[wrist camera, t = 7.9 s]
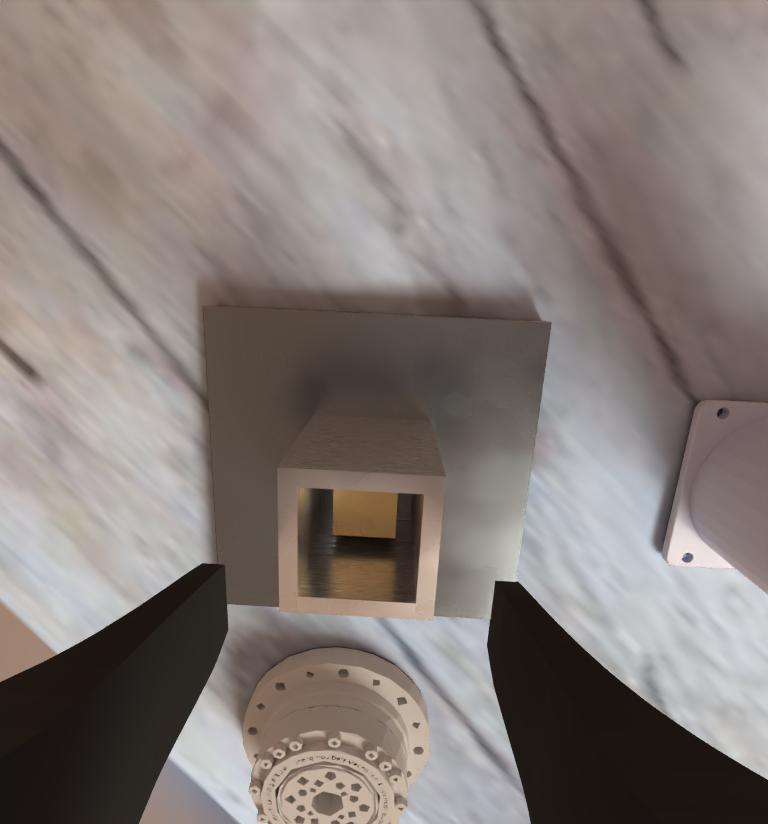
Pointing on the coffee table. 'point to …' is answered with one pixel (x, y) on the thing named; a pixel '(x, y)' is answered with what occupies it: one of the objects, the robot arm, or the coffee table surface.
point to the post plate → (375, 398)
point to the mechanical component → (334, 739)
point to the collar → (356, 555)
